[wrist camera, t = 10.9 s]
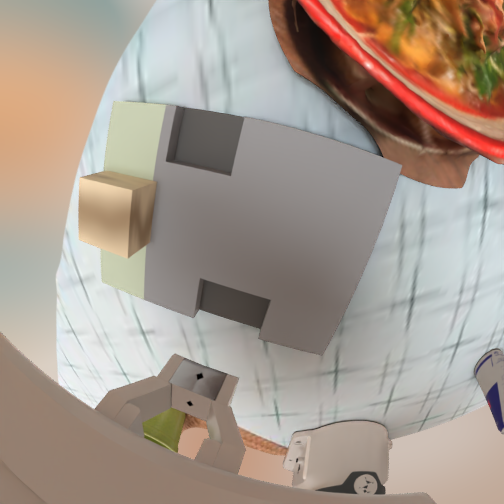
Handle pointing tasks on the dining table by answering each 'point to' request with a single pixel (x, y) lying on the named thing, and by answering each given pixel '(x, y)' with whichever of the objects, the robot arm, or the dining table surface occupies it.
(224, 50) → the dining table surface
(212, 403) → the robot arm
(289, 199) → the board
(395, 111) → the stew
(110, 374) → the dining table surface
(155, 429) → the plant pot
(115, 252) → the maple block
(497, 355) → the energy drink
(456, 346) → the dining table surface
